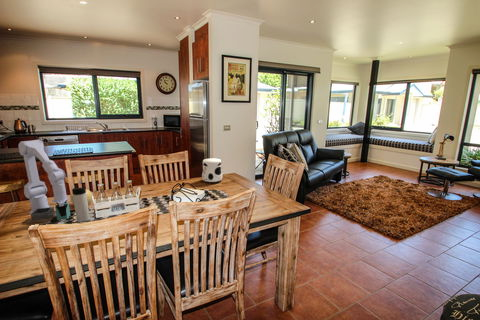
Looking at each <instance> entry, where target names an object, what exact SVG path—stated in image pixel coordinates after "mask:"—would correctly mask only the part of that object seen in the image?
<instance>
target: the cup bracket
mask: <svg viewBox="0 0 480 320" xmlns="http://www.w3.org/2000/svg"><path fill="white" fill-rule="evenodd" d="M55 213H56V210H55V206H50V207H49V208H39V209H36V210H35V211H34V212H33V213H30V219H29V220H28V221H33V220H42V219H50V218H51V217H52V216H53V215H54V214H55Z"/></svg>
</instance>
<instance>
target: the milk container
mask: <svg viewBox="0 0 480 320" xmlns="http://www.w3.org/2000/svg"><path fill="white" fill-rule="evenodd" d="M223 177H224V176H223V171H222V160H221V159H220V158H212V157H211V158H204V159H203V160H202V173H201V178H202V181H203V182H206V183H210V184H211V183H212V184H213V183H218V182H221V181H222V180H223Z"/></svg>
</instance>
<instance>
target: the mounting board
mask: <svg viewBox="0 0 480 320" xmlns="http://www.w3.org/2000/svg"><path fill="white" fill-rule="evenodd" d="M55 217H57V215H56V213H55V214H54V215H53V216H52V217H51V218H50V219H42V220H33V221H29V220H28V221H26V225H34V224H42V223H48V222H47V221H51V220H52V221H53V220H54V219H55ZM52 221H51V222H52Z"/></svg>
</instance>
